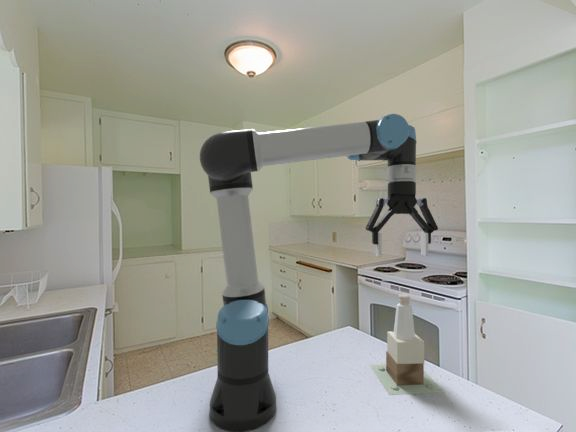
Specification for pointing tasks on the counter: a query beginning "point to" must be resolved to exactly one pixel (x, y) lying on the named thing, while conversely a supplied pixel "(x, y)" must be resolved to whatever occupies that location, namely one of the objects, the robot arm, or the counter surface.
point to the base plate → (393, 389)
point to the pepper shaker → (404, 319)
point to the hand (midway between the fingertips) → (401, 255)
